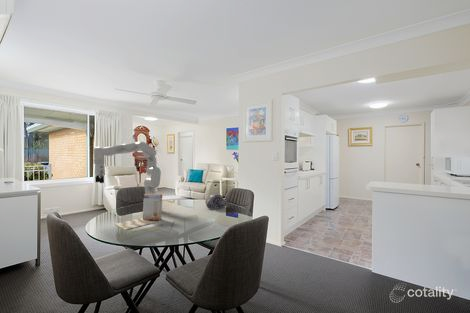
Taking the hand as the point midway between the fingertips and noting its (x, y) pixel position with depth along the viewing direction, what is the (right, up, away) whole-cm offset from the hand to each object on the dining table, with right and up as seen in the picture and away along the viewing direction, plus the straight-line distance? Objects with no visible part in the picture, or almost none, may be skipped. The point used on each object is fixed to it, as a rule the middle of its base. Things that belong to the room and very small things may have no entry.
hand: (99, 182), depth 195 cm
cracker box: (+44, -31, -2) cm, 54 cm away
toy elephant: (+95, -30, +38) cm, 106 cm away
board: (+34, -31, -12) cm, 48 cm away
